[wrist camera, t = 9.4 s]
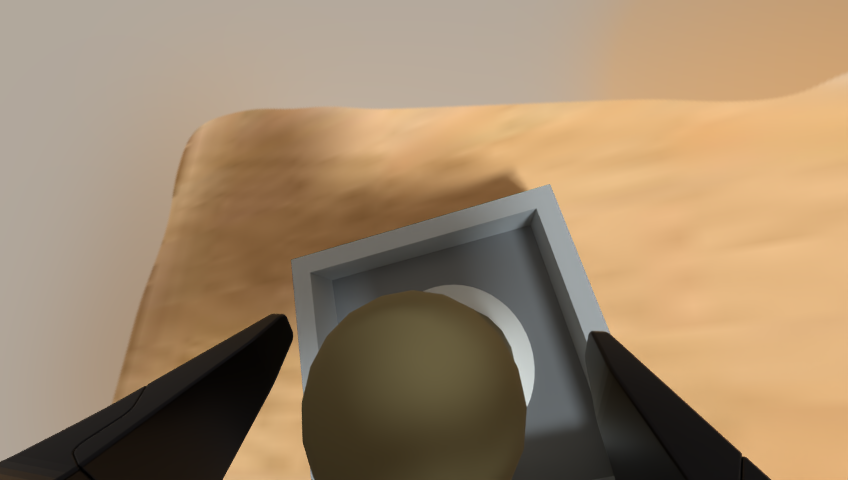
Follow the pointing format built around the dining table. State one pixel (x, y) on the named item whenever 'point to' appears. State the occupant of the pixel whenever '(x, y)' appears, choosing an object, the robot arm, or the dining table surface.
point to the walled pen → (485, 310)
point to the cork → (414, 395)
